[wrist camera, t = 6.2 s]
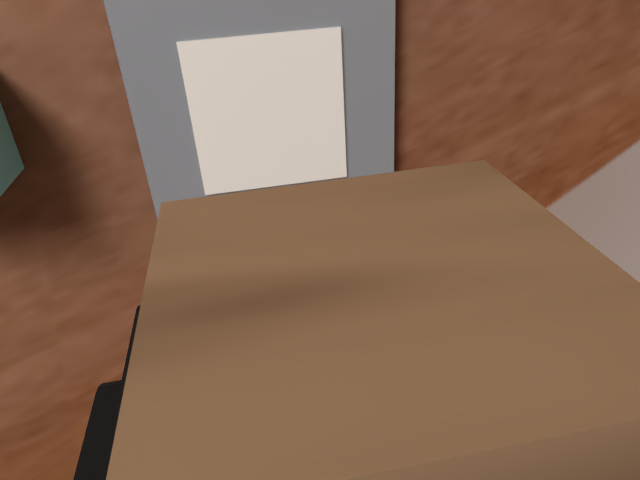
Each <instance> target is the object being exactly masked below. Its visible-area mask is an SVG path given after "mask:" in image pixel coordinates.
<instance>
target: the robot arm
mask: <svg viewBox="0 0 640 480" xmlns="http://www.w3.org/2000/svg"><path fill="white" fill-rule="evenodd" d="M140 306H141V305H139V306H138V307H137V309H136V314H135V319H134V324H133V328H132V333H131V338H130V343H129V348H128V353H127V357H126V362H125V367H124V372H123V377H122V380H120V381H114V382H108V383H102V384H101V385H100V386H99V387H98V389H97V392H96V395H95V398H94V402H93V406H92V410H91V414H90V418H89V422H88V425H87V429H86V433H85V437H84V441H83V445H82V449H81V453H80V456H79V460H78V464H77V468H76V472H75V476H74V480H106V477H107V472H108V467H109V462H110V457H111V452H112V447H113V442H114V437H115V432H116V427H117V422H118V417H119V412H120V407H121V401H122V396H123V391H124V386H125V381H126V376H127V371H128V366H129V361H130V356H131V351H132V346H133V341H134V336H135V331H136V326H137V321H138V316H139V311H140Z"/></svg>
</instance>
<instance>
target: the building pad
mask: <svg viewBox="0 0 640 480" xmlns="http://www.w3.org/2000/svg"><path fill="white" fill-rule="evenodd" d="M104 4H105V8H106V12H107V17H108V21H109V25H110V29H111V33H112V37H113V41H114V45H115V49H116V53H117V57H118V61H119V65H120V69H121V73H122V77H123V82H124V86H125V90H126V94H127V98H128V102H129V106H130V110H131V114H132V118H133V122H134V126H135V130H136V134H137V138H138V143H139V147H140V151H141V155H142V159H143V163H144V167H145V171H146V175H147V179H148V183H149V187H150V191H151V195H152V199H153V204H154V208H155V212H156V216H157V220H158V216H159V211H160V206H161V202H169V201H176V200H184V199H191V198H199V197H207V196H214V195H222V194H229V193H237V192H245V191H252V190H260V189H267V188H275V187H283V186H290V185H298V184H306V183H313V182H321V181H328V180H336V179H344V178H351V177H359V176H366V175H374V174H382V173H389V172H394V111H395V0H104Z"/></svg>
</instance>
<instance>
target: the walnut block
mask: <svg viewBox="0 0 640 480" xmlns="http://www.w3.org/2000/svg"><path fill="white" fill-rule="evenodd" d="M106 480H640V283H639V282H638V281H637V280H635V279H634V278H633V277H632V276H630V275H629V274H628V273H627V272H625V271H624V270H623V269H621V268H620V267H619V266H618V265H616V264H615V263H614V262H613V261H611V260H610V259H609V258H607V257H606V256H605V255H604V254H603V253H601V252H600V251H599V250H597V249H596V248H595V247H594V246H592V245H591V244H590V243H589V242H587V241H586V240H585V239H583V238H582V237H581V236H580V235H578V234H577V233H576V232H575V231H573V230H572V229H571V228H569V227H568V226H567V225H566V224H564V223H563V222H562V221H560V220H559V219H558V218H557V217H556V216H554V215H553V214H552V213H551V212H549V211H548V210H547V209H545V208H544V207H543V206H542V205H540V204H539V203H538V202H537V201H535V200H534V199H533V198H532V197H530V196H529V195H528V194H526V193H525V192H524V191H523V190H521V189H520V188H519V187H518V186H516V185H515V184H514V183H513V182H511V181H510V180H509V179H507V178H506V177H505V176H504V175H502V174H501V173H500V172H499V171H497V170H496V169H495V168H493V167H492V166H491V165H490V164H488V163H487V162H486V161H485V160H481V161H473V162H465V163H458V164H450V165H443V166H435V167H427V168H420V169H412V170H404V171H397V172H389V173H382V174H374V175H366V176H359V177H351V178H344V179H336V180H328V181H321V182H313V183H306V184H298V185H290V186H283V187H275V188H267V189H260V190H252V191H245V192H237V193H229V194H222V195H214V196H207V197H199V198H191V199H184V200H176V201H169V202H161V206H160V211H159V216H158V221H157V226H156V231H155V236H154V241H153V246H152V251H151V256H150V261H149V266H148V271H147V276H146V281H145V286H144V291H143V296H142V301H141V306H140V311H139V316H138V321H137V326H136V331H135V336H134V341H133V346H132V351H131V356H130V361H129V366H128V371H127V376H126V381H125V386H124V391H123V396H122V401H121V407H120V412H119V417H118V422H117V427H116V432H115V437H114V442H113V447H112V452H111V457H110V462H109V467H108V472H107V477H106Z"/></svg>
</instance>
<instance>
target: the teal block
mask: <svg viewBox="0 0 640 480" xmlns="http://www.w3.org/2000/svg"><path fill="white" fill-rule="evenodd" d="M23 169H24V165H23V162H22V160H21V157H20V154H19V152H18V149H17V146H16V143H15V141H14V138H13V135H12V132H11V130H10V127H9V124H8V122H7V119H6V116H5V113H4V111H3V108H2V105H1V102H0V197H1V195H2V194H3V193H4V192H5V191H6V189H7V188H8V187H9V186H10V185H11V183H12V182H13V181H14V180H15V179H16V177H17V176H18V175H19V174H20V173H21V171H22V170H23Z"/></svg>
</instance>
